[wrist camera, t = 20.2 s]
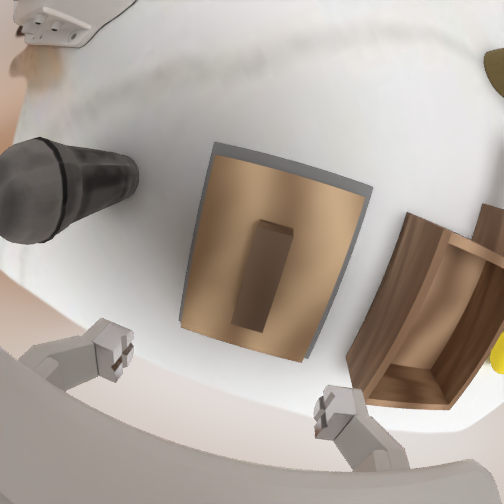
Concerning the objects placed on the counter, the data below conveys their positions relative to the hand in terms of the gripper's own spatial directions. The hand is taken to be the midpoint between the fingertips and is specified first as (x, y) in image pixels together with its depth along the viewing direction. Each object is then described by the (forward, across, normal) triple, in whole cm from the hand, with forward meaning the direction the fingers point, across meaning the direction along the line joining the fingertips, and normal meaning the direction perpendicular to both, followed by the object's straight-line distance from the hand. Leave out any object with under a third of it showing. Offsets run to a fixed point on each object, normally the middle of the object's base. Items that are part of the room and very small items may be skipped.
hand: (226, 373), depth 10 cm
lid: (+15, -1, +1) cm, 15 cm away
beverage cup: (+16, +15, -3) cm, 23 cm away
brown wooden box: (+15, -18, -1) cm, 23 cm away
